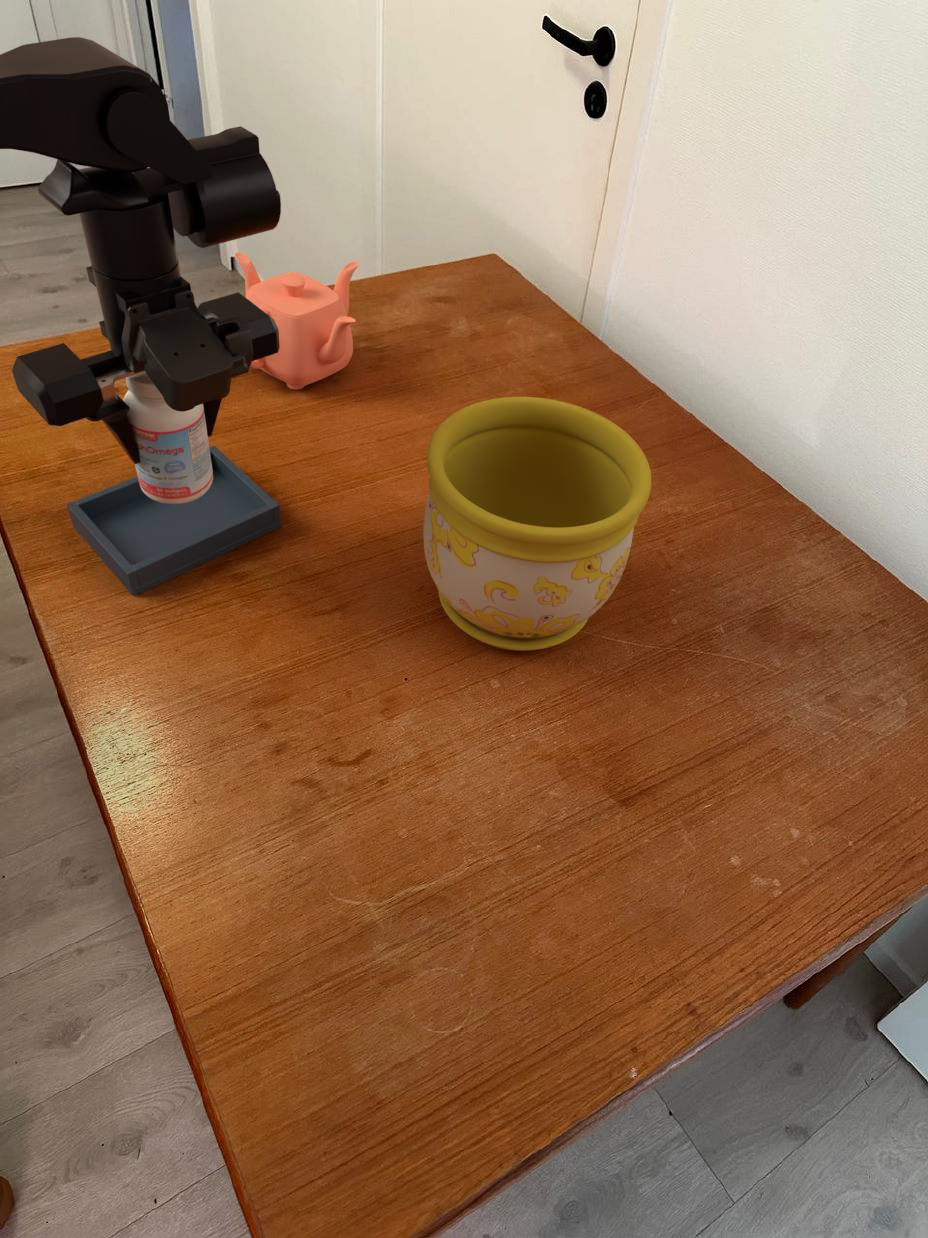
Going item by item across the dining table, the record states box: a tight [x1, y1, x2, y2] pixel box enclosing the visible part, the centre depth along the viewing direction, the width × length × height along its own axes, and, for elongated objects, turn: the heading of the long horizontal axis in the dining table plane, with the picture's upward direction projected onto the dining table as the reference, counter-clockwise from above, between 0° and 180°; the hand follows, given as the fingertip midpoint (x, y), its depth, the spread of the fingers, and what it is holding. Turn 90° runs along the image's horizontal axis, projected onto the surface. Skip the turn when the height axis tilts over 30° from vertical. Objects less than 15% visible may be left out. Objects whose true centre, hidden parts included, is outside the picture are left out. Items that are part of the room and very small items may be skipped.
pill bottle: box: [122, 372, 213, 504], centre depth 70 cm, size 6×6×11 cm
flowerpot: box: [422, 396, 652, 652], centre depth 75 cm, size 18×18×16 cm
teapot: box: [234, 252, 360, 390], centre depth 100 cm, size 14×14×11 cm
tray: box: [65, 445, 282, 597], centre depth 83 cm, size 16×12×3 cm
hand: (171, 447), depth 71 cm, fingers closed on pill bottle, 6 cm apart
